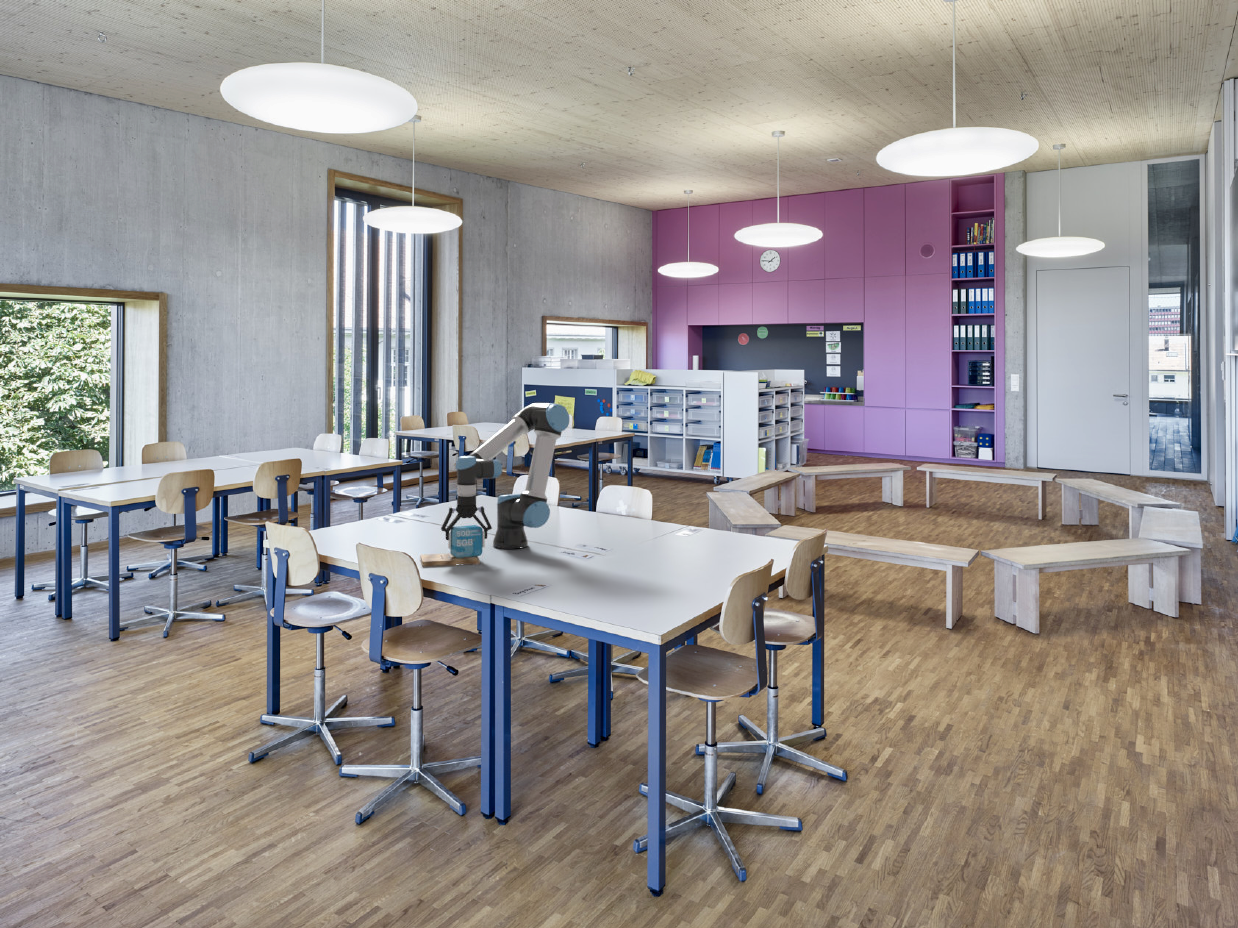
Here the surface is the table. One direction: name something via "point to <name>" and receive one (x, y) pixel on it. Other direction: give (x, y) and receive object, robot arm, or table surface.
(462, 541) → the data package
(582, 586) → the table surface
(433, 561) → the oak board
